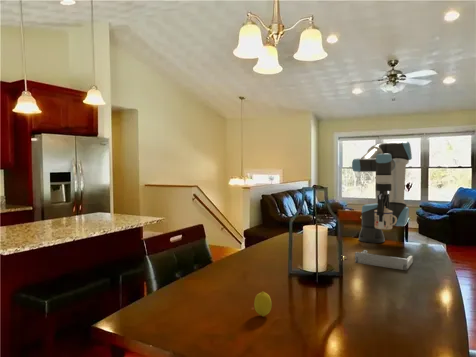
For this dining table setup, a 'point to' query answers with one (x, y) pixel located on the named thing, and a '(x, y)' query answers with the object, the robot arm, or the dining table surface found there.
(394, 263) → the aluminium dock
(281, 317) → the dining table surface
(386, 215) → the teacup with lid
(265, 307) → the lemon
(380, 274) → the dining table surface
